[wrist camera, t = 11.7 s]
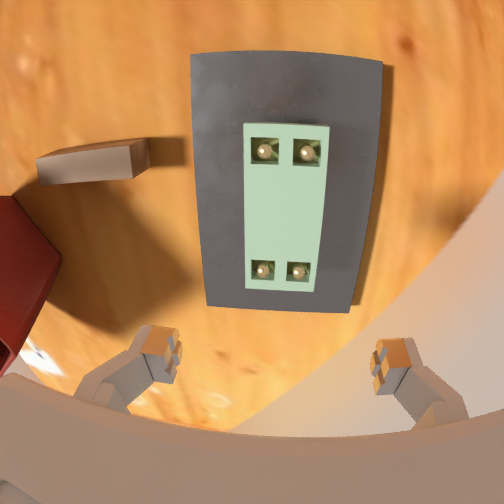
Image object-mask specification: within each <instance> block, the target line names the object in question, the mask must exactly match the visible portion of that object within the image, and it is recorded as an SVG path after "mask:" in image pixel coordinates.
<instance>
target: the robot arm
mask: <svg viewBox="0 0 504 504" xmlns="http://www.w3.org/2000/svg"><path fill="white" fill-rule="evenodd" d="M178 338H179V332H178V329H175V328H168V327H162V326H156V325H148V324H143V325H142V326H141V327H140V329H139V331H138V333H137V335H136V336H135V338H134V340H133V342H132V344H131V346H130V348H129V350H128V351H127V350H125V351H123V352H122V353H120V354H118V355H117V356H115V357H114V358H112V359H110V360H109V361H107V362H106V363H104V364H102V365H101V366H99V367H97V368H96V369H94V370H93V371H91V372H89V373H88V374H86V375H85V376H84V377H83V379H82V381H81V383H80V385H79V386H78V388H77V390H76V392H75V394H74V396H73V397H72V396H70V395H67V394H64V393H61V392H59V391H56V390H54V389H51V388H49V387H46V386H44V385H41V384H39V383H36V382H34V381H32V380H30V379H27V378H26V377H23V376H21V375H19V374H16V373H10V374H7V375H5V376H3V377H0V504H504V409H501V410H498V411H495V412H491V413H488V414H485V415H481V416H477V417H474V418H470V419H469V416H468V413H467V410H466V407H465V404H464V401H463V398H462V396H461V395H460V394H458V393H457V392H456V391H455V390H454V389H453V388H451V387H450V386H449V385H448V384H447V383H446V382H445V381H443V380H442V379H441V378H440V377H439V376H437V375H436V374H435V373H434V372H433V371H431V370H430V369H429V368H428V367H427V366H423V363H422V360H421V358H420V355H419V352H418V350H417V347H416V344H415V342H414V339H412V338H394V339H379V340H378V341H377V344H376V348H377V350H376V351H375V352H373V354H372V357H371V363H370V369H371V374H372V375H373V376H374V377H375V379H374V382H373V384H374V390H375V395H390V394H394V396H395V397H396V398H397V400H398V401H399V402H400V403H401V405H402V406H403V407H404V408H405V409H406V411H407V412H408V413H409V414H410V415H411V417H412V418H413V419H414V420H415V421H416V424H415V426H414V427H413V428H412V429H411V430H409V431H402V432H394V433H385V434H375V435H363V436H347V437H314V438H313V437H312V438H311V437H307V438H306V437H274V436H258V435H246V434H236V433H227V432H219V431H211V430H204V429H198V428H192V427H186V426H180V425H175V424H170V423H165V422H160V421H156V420H151V419H147V418H143V417H139V416H135V415H131V413H130V412H129V410H128V408H127V407H126V406H127V405H128V404H130V403H131V402H132V401H133V400H134V399H135V398H137V397H138V396H139V395H140V394H141V393H142V392H143V391H145V390H146V389H147V388H148V387H149V386H150V385H151V384H153V383H154V381H155V382H161V383H168V384H173V382H174V379H175V376H176V373H177V371H176V366H177V365H179V364H180V361H181V358H182V344H181V342H180V341H179V340H178Z"/></svg>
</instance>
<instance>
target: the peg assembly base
mask: <svg viewBox="0 0 504 504" xmlns="http://www.w3.org/2000/svg"><path fill="white" fill-rule="evenodd" d="M190 63H191V105H192V130H193V150H194V167H195V182H196V196H197V209H198V222H199V233H200V244H201V254H202V264H203V274H204V283H205V292H206V301H207V306H215V307H228V308H242V309H257V310H275V311H295V312H322V313H349V311H350V307H351V303H352V298H353V294H354V290H355V285H356V281H357V276H358V272H359V267H360V262H361V257H362V252H363V247H364V241H365V236H366V230H367V225H368V219H369V212H370V206H371V199H372V192H373V185H374V177H375V169H376V161H377V151H378V141H379V130H380V117H381V100H382V75H383V62H382V61H377V60H371V59H365V58H358V57H351V56H343V55H335V54H325V53H313V52H298V51H227V52H212V53H200V54H190ZM245 122H278V123H300V124H316V125H327V126H329V127H330V129H329V146H328V161H327V174H326V186H325V198H324V208H323V218H322V228H321V237H320V245H319V254H318V262H317V269H316V277H315V284H314V291H313V292H305V291H284V290H265V289H248V288H245V226H244V136H243V123H245ZM319 146H320V140H311V139H294V138H293V162H303V163H319ZM252 161H279V138H268V137H252ZM309 264H310V262H289V261H287V273H286V274H293V277H294V278H295V279H297V280H300V279H303V278H304V277H305V274H307V275H308V273H309ZM252 272H257V275H258V276H259V277H261V278H265V277H267V276H268V275H269V273H275V261H269V260H252Z"/></svg>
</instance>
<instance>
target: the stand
mask: <svg viewBox="0 0 504 504" xmlns="http://www.w3.org/2000/svg"><path fill="white" fill-rule="evenodd" d="M36 165H37V171H38V176H39V181H40V186H45V185H54V184H64V183H75V182H88V181H101V180H117V179H133V178H135V177H136V176H138V175H139V174H141V173H142V172H144V171H145V170H147V169H148V168H150V167H151V164H150V154H149V142H148V138H137V139H128V140H119V141H111V142H103V143H96V144H89V145H83V146H76V147H70V148H65V149H59V150H56V151H54V152H51V153H49V154H46V155H44V156H42V157H39V158H37V159H36Z"/></svg>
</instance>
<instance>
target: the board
mask: <svg viewBox="0 0 504 504" xmlns="http://www.w3.org/2000/svg"><path fill="white" fill-rule="evenodd" d="M329 129H330V127H329V126H327V125H316V124H300V123H278V122H245V123H243V136H244V226H245V288H248V289H265V290H284V291H305V292H313V291H314V284H315V277H316V269H317V262H318V254H319V245H320V237H321V228H322V218H323V208H324V198H325V186H326V174H327V161H328V146H329ZM252 137H268V138H279V161H252ZM293 138H294V139H311V140H320V146H319V163H303V162H293ZM252 260H269V261H275V273H269V275H268V276H267V277H265V278H261V277H259V276H258V275H257V272H252ZM287 261H289V262H310V264H309V273H308V275H307V274H305V277H304V278H303V279H300V280H297V279H295V278H294V277H293V274H286V273H287Z"/></svg>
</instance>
